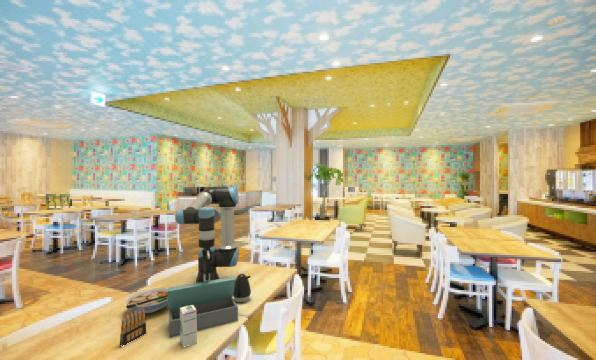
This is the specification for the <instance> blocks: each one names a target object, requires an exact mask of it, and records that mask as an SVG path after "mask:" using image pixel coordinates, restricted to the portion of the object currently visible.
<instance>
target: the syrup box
mask: <svg viewBox="0 0 596 360" xmlns="http://www.w3.org/2000/svg"><path fill="white" fill-rule="evenodd" d="M179 337H180V338H179V339H180V344H181V346H182V347H183V348H185V347H184V346H187V347H189V346H188V345H190V346H193V345H197V343H198V331H197V317H196V308H195V307H194V305H188V306H185V307H182V308H180V335H179ZM192 344H193V345H192Z"/></svg>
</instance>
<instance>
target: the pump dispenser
mask: <svg viewBox="0 0 596 360" xmlns="http://www.w3.org/2000/svg"><path fill="white" fill-rule="evenodd" d="M250 278H252V277H251V275H248V276H247V275H246V274H245V273H239V274H238V275H237V276H236V277H235V285H234V292H233V297H232V298H233V300H234V301H235V302H236V303H246V302H247V301H248V300H249V298H250V296H251V293H252V289H251V285H250V280H249V279H250Z"/></svg>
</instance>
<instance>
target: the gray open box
mask: <svg viewBox="0 0 596 360" xmlns="http://www.w3.org/2000/svg"><path fill="white" fill-rule="evenodd" d="M194 307H195V308H196V317H197V332H198V331H202V330H206V329H209V328H214V327H218V326H223V325H226V324H229V323H234V322H238V321H239V306H238V304H237V302H236V301H235V299H234V297H230V298H225V299H220V300H215V301H210V302H205V303H201V304H196V305H194ZM181 308H182V307H181ZM168 326H169V327H168V329H169V338H170V337H171V338H174V336H175V337H178V336H179V337H180V308H177V309H172V310H168Z"/></svg>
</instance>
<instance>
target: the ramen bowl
mask: <svg viewBox="0 0 596 360" xmlns="http://www.w3.org/2000/svg"><path fill="white" fill-rule="evenodd" d="M168 288H169V287H167V288H165V287H156V288H149V289H145V290H142V291H139V292H135V293H134V294H132V295H130V296H128V298H127V299H126V300H125V304H126V306H125V308H127V309H126V310H129V309H130V310H131V311H133V312H135V311H136V312H137V314H138V311H139V309H140V311H141V313H142V308H144V312H145V314H152V313H155V312H157V311H158V310H161V309H163V308H165V307H166V306H168Z"/></svg>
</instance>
